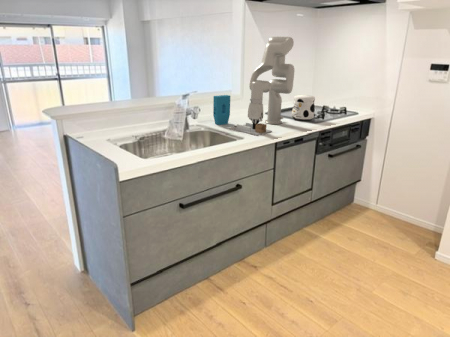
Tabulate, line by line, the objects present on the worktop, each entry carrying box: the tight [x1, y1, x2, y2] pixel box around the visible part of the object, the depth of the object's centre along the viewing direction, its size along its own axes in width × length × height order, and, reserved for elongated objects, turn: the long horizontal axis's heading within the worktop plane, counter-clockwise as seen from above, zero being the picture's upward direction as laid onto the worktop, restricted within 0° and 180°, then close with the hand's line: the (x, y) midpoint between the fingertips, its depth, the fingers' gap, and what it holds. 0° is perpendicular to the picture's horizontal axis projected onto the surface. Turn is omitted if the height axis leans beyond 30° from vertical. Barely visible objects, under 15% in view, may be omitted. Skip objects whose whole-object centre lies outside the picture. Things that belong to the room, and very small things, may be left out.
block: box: [212, 94, 231, 126], centre depth 239 cm, size 12×5×20 cm, turn 125°
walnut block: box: [255, 122, 267, 133], centre depth 218 cm, size 5×5×5 cm
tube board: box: [229, 122, 273, 137], centre depth 224 cm, size 16×24×3 cm, turn 45°
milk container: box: [291, 94, 316, 122], centre depth 261 cm, size 17×17×18 cm
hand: (254, 129), depth 222 cm, fingers closed
